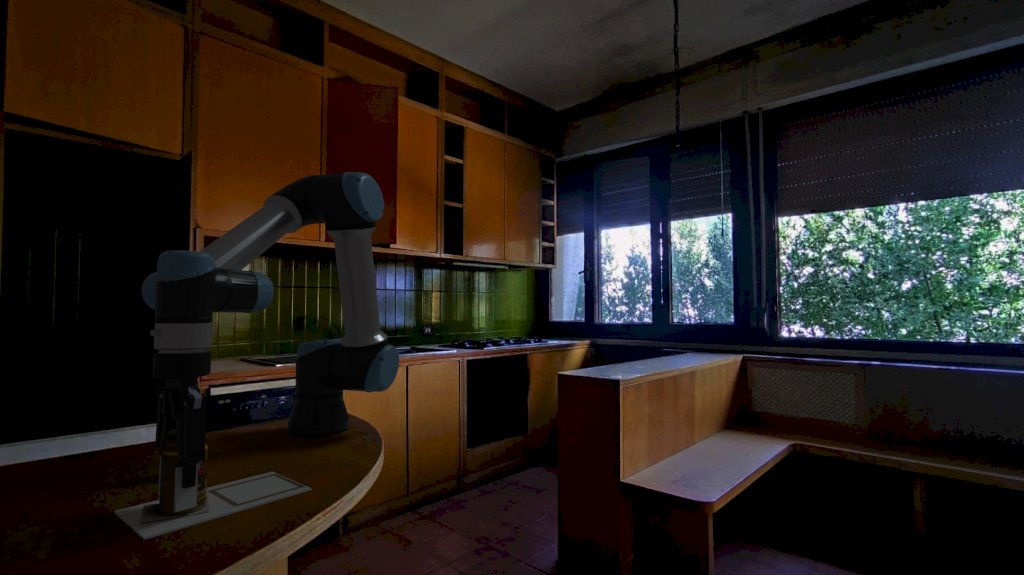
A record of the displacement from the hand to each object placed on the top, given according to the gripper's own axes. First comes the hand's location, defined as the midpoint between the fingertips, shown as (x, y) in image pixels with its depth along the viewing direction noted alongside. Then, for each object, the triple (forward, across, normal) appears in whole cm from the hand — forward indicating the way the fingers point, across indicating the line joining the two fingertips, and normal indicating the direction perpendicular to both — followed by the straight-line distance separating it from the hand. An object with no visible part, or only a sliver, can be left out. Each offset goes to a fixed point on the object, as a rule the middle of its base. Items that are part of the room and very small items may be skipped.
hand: (177, 502), depth 75 cm
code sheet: (+1, 0, +6) cm, 6 cm away
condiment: (+1, 0, 0) cm, 1 cm away
